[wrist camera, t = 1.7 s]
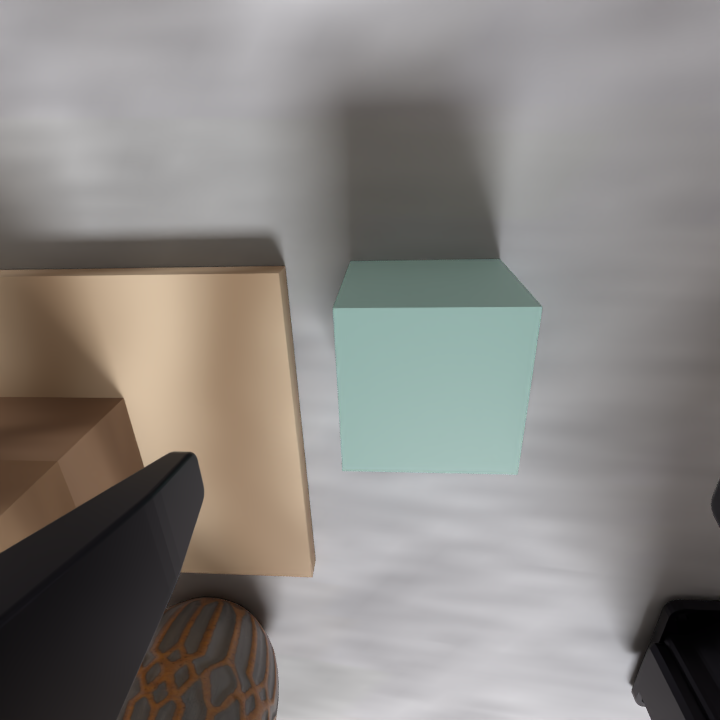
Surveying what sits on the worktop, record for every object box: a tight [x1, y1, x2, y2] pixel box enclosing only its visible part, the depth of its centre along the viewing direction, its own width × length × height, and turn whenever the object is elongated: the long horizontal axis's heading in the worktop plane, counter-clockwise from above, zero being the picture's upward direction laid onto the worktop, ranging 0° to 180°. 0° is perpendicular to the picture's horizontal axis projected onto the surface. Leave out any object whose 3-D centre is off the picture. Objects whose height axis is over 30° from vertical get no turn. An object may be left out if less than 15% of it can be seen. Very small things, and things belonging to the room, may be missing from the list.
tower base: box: [0, 397, 144, 508], centre depth 14 cm, size 5×5×3 cm
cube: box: [333, 259, 542, 475], centre depth 12 cm, size 4×4×4 cm
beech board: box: [0, 266, 316, 577], centre depth 16 cm, size 16×12×1 cm
